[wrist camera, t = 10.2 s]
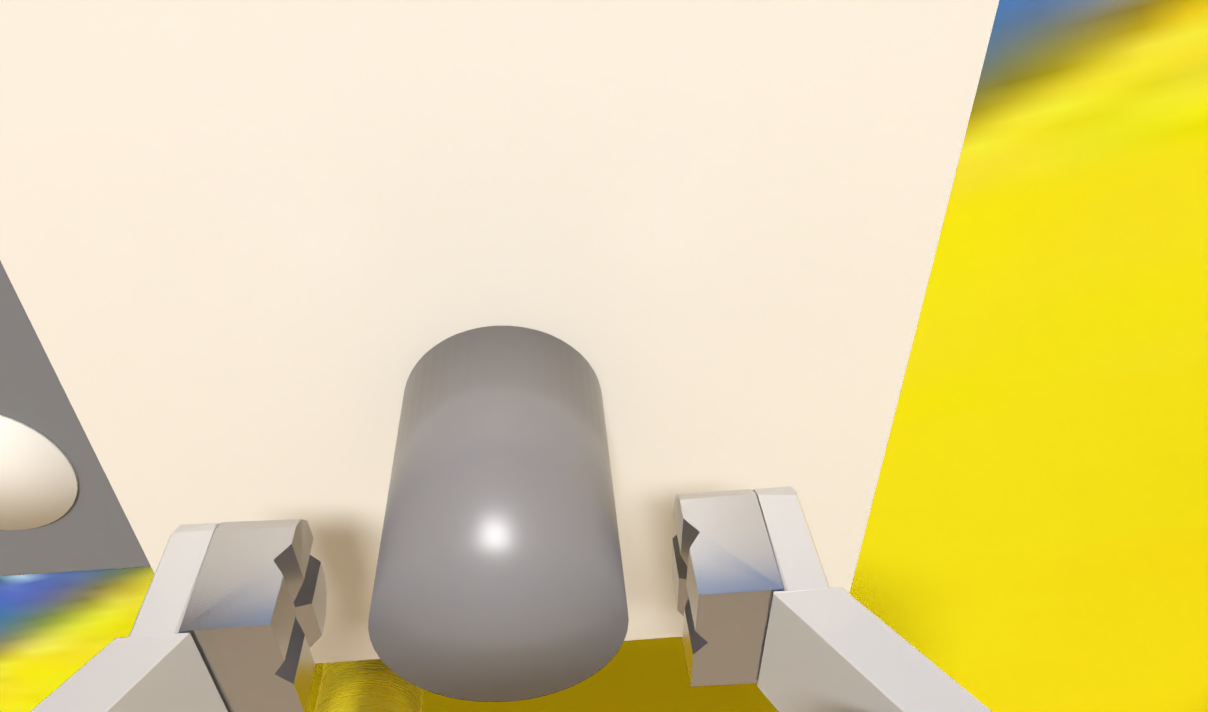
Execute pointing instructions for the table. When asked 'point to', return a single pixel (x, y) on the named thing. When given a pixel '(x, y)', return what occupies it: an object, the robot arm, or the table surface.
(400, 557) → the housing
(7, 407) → the board
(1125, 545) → the table surface
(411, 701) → the steel pin
